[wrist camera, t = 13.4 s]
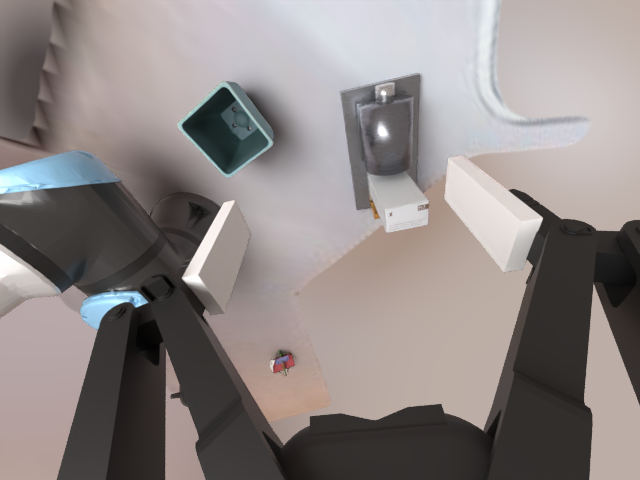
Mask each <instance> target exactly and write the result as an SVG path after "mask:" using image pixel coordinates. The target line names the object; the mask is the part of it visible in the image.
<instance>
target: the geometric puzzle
mask: <svg viewBox="0 0 640 480" xmlns="http://www.w3.org/2000/svg"><path fill="white" fill-rule="evenodd" d="M284 352H285V351H284ZM279 353H280V351H279ZM285 354H286V353H285ZM276 357H277V356H276ZM294 365H295V364H294V361H293V358H292V355H291V353H290V354H286V355H285V356H284V355H283V356H282V357H281V354H280V357H278V358H277V359H273V360H272V359H271V361H270V368H271V370H272V371H273V373H276V372H280V371H281V370H282V371H283V369H284V371H285V370H286V368H287V369H289V368H290V367H292V366H294ZM288 367H289V368H288ZM287 372H288V371H287ZM283 375H284V374H283ZM285 375H286V376H287V374H286V372H285Z"/></svg>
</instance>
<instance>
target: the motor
mask: <svg viewBox="0 0 640 480" xmlns="http://www.w3.org/2000/svg"><path fill="white" fill-rule="evenodd" d="M340 94H341V101H342V108H343V115H344V123H345V130H346V137H347V144H348V151H349V159H350V166H351V173H352V180H353V188H354V195H355V202H356V208H357V210H361V209H366V208H371V210H372V212H373V215H374V218H375V219H378V218H380V217H379V214H378V212H377V210H376V207H375V205H374V202H373V200H372V197H371V195H370V189H369V180H368V175H370V174H372V175H377V176H389V175H395V174H399V173H402V172H404V171H406V172H407V174H408V175H409V176H410V177H411V179H412V180H413V181H414V182H415V184H416V181H417V145H418V109H419V74H418V73H415V74H411V75H407V76H403V77H399V78H394V79H390V80H386V81H382V82H377V83H373V84H369V85H365V86H361V87H356V88H352V89H348V90H344V91H340Z"/></svg>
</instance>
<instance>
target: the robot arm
mask: <svg viewBox="0 0 640 480" xmlns="http://www.w3.org/2000/svg"><path fill="white" fill-rule="evenodd" d="M121 181H122V180H121V179H120V178H118V177H116V176H115V175H114V174H113V173H112V172H111V171H110V170H109V169H108V167H107V166H106V165H105V164H104V163H103V162H102V161H101V160H100V159H99V158H98V157H97V156H96V155H94V154H92V153H90V152H87V151H82V150H74V151H69V152H65V153H61V154H57V155H54V156H50V157H46V158H42V159H39V160H35V161H31V162H28V163H24V164H20V165H17V166H13V167H9V168H6V169H2V170H0V318H2V317H3V316H5V315H6V314H7V313H9V312H10V311H11V310H13V309H14V308H16V307H17V306H19V305H20V304H21V303H23V302H24V301H25V300H28V299H32V298H38V297H50V296H58V295H60V294H61V293H63V292H64V291H65V290H67V289H68V288H69V287H71V286H72V285H74V286H76V287H77V288H78V289H80V290H81V291H82V292H83V293H85V294H86V295H87V296H88V298H86V299H85V300H84V301H83V302H82V307H81V309H80V314H81V315H82V316H81V317H82V319H83V320H84V321H85V322H86V323H87V324H88V325H90V326H91V327H93V328H95V329H97V330H98V332H97V336H96V339H95V343H94V347H93V350H92V354H91V357H90V361H89V365H88V368H87V372H86V376H85V379H84V383H83V386H82V390H81V394H80V397H79V402H78V405H77V408H76V412H75V416H74V420H73V423H72V426H71V430H70V434H69V437H68V441H67V445H66V448H65V452H64V455H63V459H62V463H61V467H60V470H59V474H58V478H57V480H165V396H166V393H165V391H166V349H167V352H168V354H169V357H170V360H171V362H172V365H173V368H174V370H175V373H176V376H177V378H178V381H179V384H180V386H181V389H182V392H183V395H184V397H185V400H186V403H187V405H188V408H189V411H190V413H191V416H192V419H193V421H194V424H195V427H196V429H197V432H198V435H199V440H198V441H197V442H196V452H197V456H198V459H199V461H200V464H201V467H202V470H203V473H204V476H205V479H206V480H589V473H590V457H591V440H592V413H591V410H590V408H588V407H587V406H586V405H585V403H584V389H585V377H586V364H587V354H588V342H589V330H590V317H591V306H592V294H593V283H594V285H595V288H596V291H597V293H598V296H599V298H600V301H601V304H602V306H603V309H604V312H605V314H606V317H607V319H608V322H609V325H610V328H611V330H612V333H613V335H614V338H615V341H616V343H617V346H618V349H619V351H620V354H621V356H622V359H623V362H624V365H625V367H626V370H627V372H628V375H629V378H630V381H631V383H632V386H633V389H634V391H635V394H636V396H637V399H638V402H639V404H640V220H633V221H629V222H627V223H625V224H624V225H623V227H622V229H621V230H620V231H596V229H595V228H594V227H592V226H591V225H589V224H587V223H585V222H582V221H578V220H570V219H560V218H559V217H558V216H556V215H555V214H554V213H552V212H551V211H549V210H548V209H547V208H545V207H544V206H543V205H540V204H539V203H538V202H537V201H535V200H533V198H531V197H530V196H529V195H527V194H526V193H524V192H521V191H518V190H515V189H511V190H507V189H505V188H504V187H503V186H502V185H500V184H499V183H498V182H496V181H495V180H494V179H493V178H491V177H490V176H489V175H487V174H486V173H485V172H484V171H482V170H481V169H480V168H478V167H477V166H476V165H475V164H473V163H472V162H471V161H469V160H468V159H467V158H466V157H464V156H463V155H459V156H454V157H449V158H448V167H447V178H446V186H445V196H444V199H445V200H446V202H447V203H448V204H449V205H450V207H451V208H452V209H453V210H454V211H455V213H456V214H457V215H458V216H459V218H460V219H461V220H462V221H463V222H464V224H465V225H466V226H467V227H468V229H469V230H470V231H471V232H472V234H473V235H474V236H475V237H476V238H477V240H478V241H479V242H480V243H481V245H482V246H483V247H484V248H485V250H486V251H487V252H488V253H489V254H490V256H491V257H492V258H493V259H494V261H495V262H496V263H497V264H498V265H499V267H500V268H501V269H502V270H503V272H511V271H517V270H523V268H524V265H525V263H526V260H528V261H529V262H530V263H531V264H532V265H533V268H532V270H531V272H530V275H529V277H528V279H527V282H526V284H527V286H526V290H525V294H524V297H523V300H522V304H521V308H520V311H519V314H518V318H517V321H516V325H515V328H514V332H513V335H512V339H511V342H510V346H509V350H508V353H507V356H506V360H505V363H504V367H503V370H502V374H501V377H500V381H499V385H498V387H497V391H496V394H495V398H494V401H493V405H492V408H491V411H490V414H489V417H488V419H487V422H486V424H485V427H484V431H482V430H481V429H479V428H478V427H476V426H475V425H473V424H471V423H469V422H467V421H466V420H463V419H461V418H459V417H456V416H453V415H450V414H445V413H444V411H443V408H442V405H441V404H436V405H426V406H415V407H407V408H405V409H402V410H400V411H397V412H396V413H393V414H391V415H388V416H386V417H383V418H381V419H379V420H369V419H364V418H359V417H355V416H350V415H345V414H330V415H320V416H311V417H310V426H308V427H306V428H304V429H302V430H301V431H299V432H298V433H297V434H295V435H294V436H293V437H292V438H291V439H290V440H289V441H288V442H287V443H286V444H285V445H283V443H282V442H281V441H280V439H279V438H278V436H277V435H276V434H275V432H274V431H273V429H272V428H271V426H270V425H269V423H268V421H267V420H266V418H265V416H264V415H263V413H262V411H261V410H260V408H259V407H258V405H257V403H256V402H255V400H254V398H253V397H252V395H251V393H250V392H249V390H248V388H247V387H246V385H245V383H244V382H243V380H242V378H241V377H240V375H239V373H238V372H237V370H236V369H235V367H234V365H233V364H232V362H231V360H230V359H229V357H228V355H227V354H226V352H225V350H224V349H223V347H222V345H221V344H220V342H219V340H218V339H217V337H216V335H215V334H214V332H213V330H212V329H211V327H210V326H209V324H208V322H207V321H206V319H205V318H204V316H203V312H204V310H205V309H206V310H207V311H208V312H209V314H210V315H217V314H224V313H225V312H226V309H227V306H228V303H229V300H230V297H231V294H232V291H233V288H234V285H235V282H236V279H237V275H238V272H239V269H240V266H241V263H242V260H243V257H244V254H245V251H246V248H247V245H248V242H249V239H250V236H251V232H250V230H249V228H248V226H247V224H246V222H245V220H244V217H243V215H242V213H241V211H240V209H239V207H238V205H237V202H236V200H233V201H228V202H224V203H223V205H222V207H221V208H220V207H219V206H218V205H216V204H215V203H213V202H212V201H210V200H208V199H206V198H204V197H202V196H199V195H195V194H190V193H175V194H171V195H168V196H166V197H164V198H163V199H161V200H160V201H159V202H158V203H157V204H156V206H155V207H154V208H153V209H152V211H151V213H150V216H149V215H148V214H147V213H146V211H145V210H144V209H143V208H142V207H141V205H140V204H139V203H138V202H137V201H136V199H135V198H134V197H133V196H132V194H131V193H130V192H129V191H128V190H127V188H126V187H125V186H124V185H123V184H122V182H121Z"/></svg>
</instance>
